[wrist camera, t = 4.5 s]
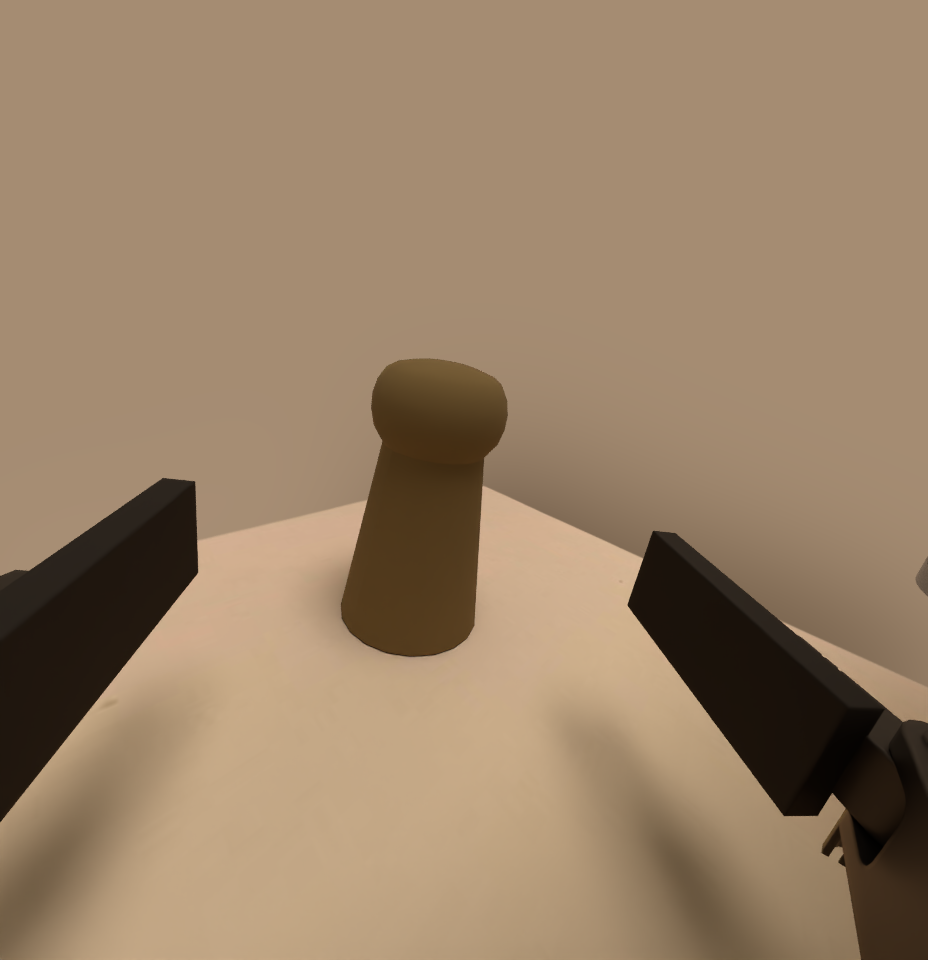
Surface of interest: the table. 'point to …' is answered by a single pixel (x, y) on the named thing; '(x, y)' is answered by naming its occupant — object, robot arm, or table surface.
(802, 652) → the robot arm
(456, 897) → the table surface
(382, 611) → the cork
